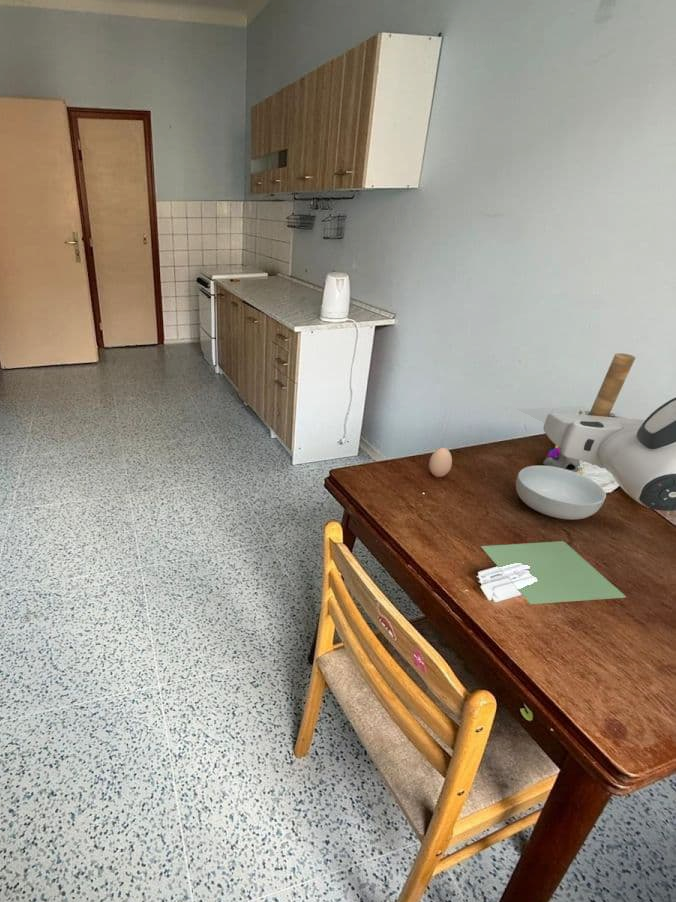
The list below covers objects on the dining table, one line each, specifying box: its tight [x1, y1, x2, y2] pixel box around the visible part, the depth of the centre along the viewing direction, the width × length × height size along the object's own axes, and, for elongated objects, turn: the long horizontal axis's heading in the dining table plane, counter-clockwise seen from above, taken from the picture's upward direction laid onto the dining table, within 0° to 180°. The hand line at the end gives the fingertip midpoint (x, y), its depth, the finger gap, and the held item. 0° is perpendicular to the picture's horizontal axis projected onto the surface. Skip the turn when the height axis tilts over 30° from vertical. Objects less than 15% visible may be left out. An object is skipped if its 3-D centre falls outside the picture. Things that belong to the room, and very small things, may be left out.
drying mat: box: [480, 540, 627, 605], centre depth 91 cm, size 18×16×1 cm
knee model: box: [542, 444, 587, 476], centre depth 127 cm, size 9×8×25 cm
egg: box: [428, 447, 453, 478], centre depth 121 cm, size 5×5×8 cm
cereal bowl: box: [515, 465, 607, 521], centre depth 108 cm, size 17×17×7 cm
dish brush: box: [589, 352, 636, 417], centre depth 90 cm, size 6×6×20 cm
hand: (595, 415), depth 92 cm, fingers closed on dish brush, 3 cm apart
